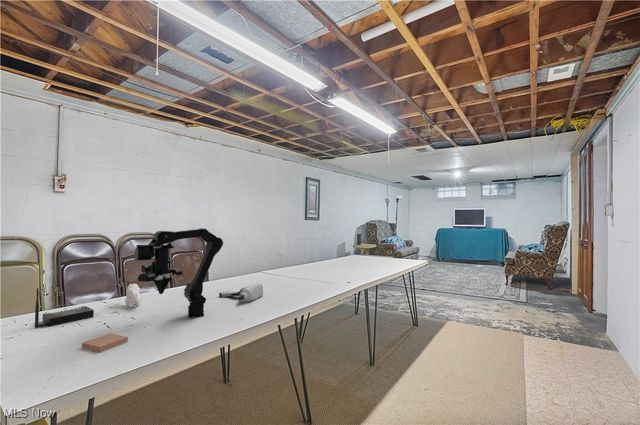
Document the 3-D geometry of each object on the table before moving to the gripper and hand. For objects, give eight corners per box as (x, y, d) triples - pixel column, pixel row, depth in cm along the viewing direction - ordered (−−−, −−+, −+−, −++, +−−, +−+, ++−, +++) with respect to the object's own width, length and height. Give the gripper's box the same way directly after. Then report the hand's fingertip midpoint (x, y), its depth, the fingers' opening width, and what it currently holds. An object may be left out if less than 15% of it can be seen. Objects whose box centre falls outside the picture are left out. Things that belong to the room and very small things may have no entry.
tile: (110, 333, 118) (81, 342, 109) (127, 336, 114) (100, 347, 105) (110, 339, 118) (81, 349, 109) (127, 343, 114) (99, 354, 105)
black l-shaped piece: (84, 313, 150) (85, 278, 150) (94, 319, 141) (95, 282, 142) (29, 324, 133) (30, 285, 134) (37, 331, 125) (38, 290, 126)
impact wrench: (205, 298, 168) (245, 289, 163) (226, 289, 191) (262, 281, 186) (207, 312, 168) (248, 304, 163) (228, 302, 190) (265, 294, 185)
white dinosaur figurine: (135, 299, 172) (136, 279, 171) (147, 312, 155) (148, 291, 154) (121, 301, 167) (122, 281, 166) (132, 315, 150) (133, 293, 149)
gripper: (166, 255, 147) (165, 288, 147) (129, 260, 130) (128, 296, 130) (183, 257, 143) (182, 290, 143) (147, 261, 126) (147, 299, 125)
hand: (160, 293), depth 135 cm, fingers closed
